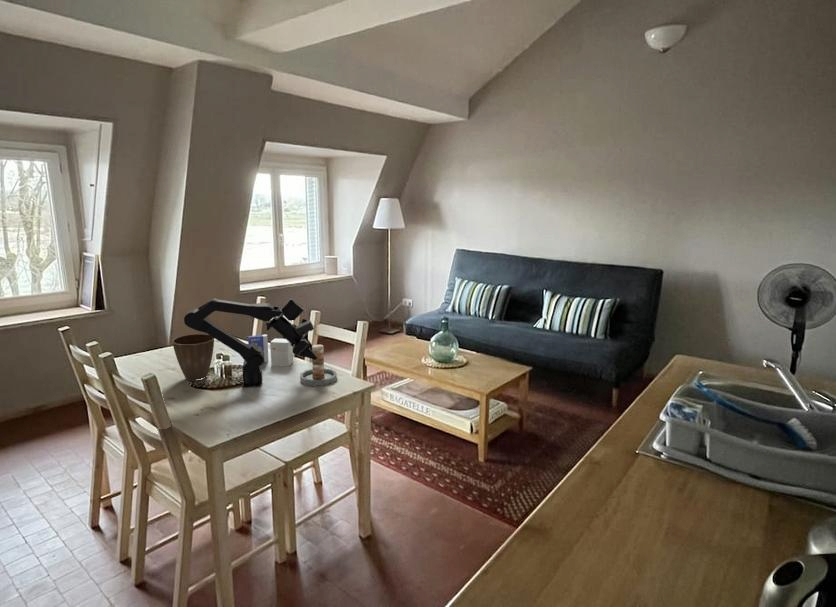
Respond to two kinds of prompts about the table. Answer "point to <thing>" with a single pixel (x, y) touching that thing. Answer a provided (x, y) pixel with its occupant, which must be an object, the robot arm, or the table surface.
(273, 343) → the small box
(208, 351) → the plant pot
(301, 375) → the round tray
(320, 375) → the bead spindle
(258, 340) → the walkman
